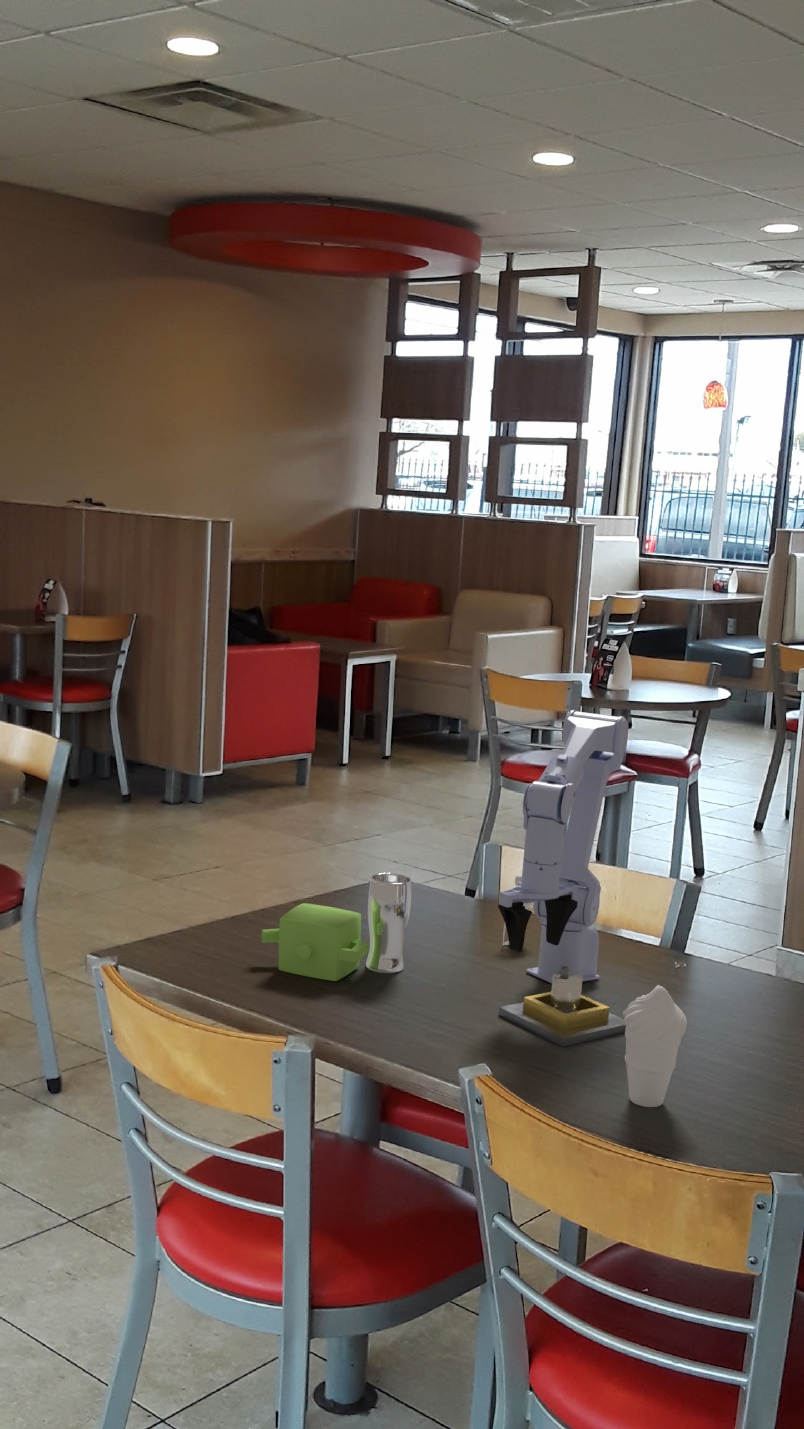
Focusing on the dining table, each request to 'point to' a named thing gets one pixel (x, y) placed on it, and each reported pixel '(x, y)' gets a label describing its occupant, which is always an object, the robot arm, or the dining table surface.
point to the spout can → (566, 991)
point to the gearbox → (318, 941)
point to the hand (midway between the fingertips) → (534, 946)
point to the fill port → (564, 1020)
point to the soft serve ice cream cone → (652, 1045)
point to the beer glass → (387, 921)
